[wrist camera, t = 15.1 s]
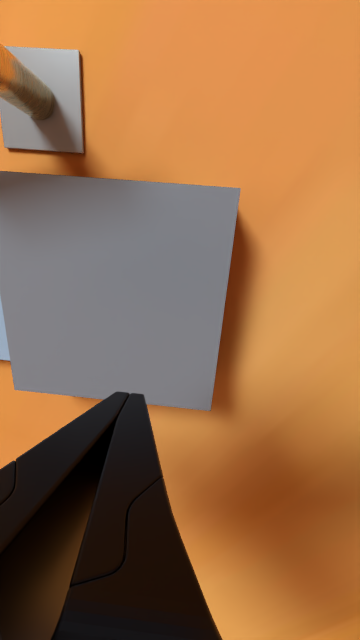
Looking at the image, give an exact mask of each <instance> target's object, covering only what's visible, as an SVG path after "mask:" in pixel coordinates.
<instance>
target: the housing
mask: <svg viewBox="0 0 360 640" xmlns="http://www.w3.org/2000/svg"><path fill="white" fill-rule="evenodd" d="M4 47H5V48H6V49H7V50H9V51H10V52H11V53H12V54H13V55H14V56H15V57H16V58H17V59H19V60H20V61H21V62H22V63H23V64H24V65H25V66H26V67H27V68H29V69H30V70H31V71H32V72H33V73H34V74H35V75H36V76H37V77H38V78H40V79H41V80H42V81H43V82H44V83H45V84H46V85H47V86H48V87H49V88H50V90H51V91H52V93H53V96H54V103H55V104H54V110H53V113H52V114H51V116H50V117H49V118H47V119H45V120H36V119H34V118H32V117H30V116H29V115H27V114H26V113H24V112H22V111H21V110H19V109H18V108H16V107H15V106H13V105H11V104H10V103H8V102H7V101H5V100H3V99H2V98H0V114H1V123H2V131H3V139H4V147H5V148H11V149H26V150H40V151H55V152H70V153H84V142H83V116H82V90H81V64H80V52H79V50H67V49H47V48H28V47H9V46H4ZM239 196H240V188H229V187H216V186H202V185H188V184H174V183H160V182H146V181H133V180H119V179H105V178H91V177H77V176H64V175H50V174H36V173H22V172H8V171H0V296H1V302H2V309H3V316H4V322H5V329H6V336H7V342H8V349H9V355H10V362H11V369H12V375H13V382H14V389H15V390H21V391H31V392H40V393H49V394H58V395H68V396H77V397H86V398H95V399H106V398H107V397H109V396H110V395H112V394H113V393H115V392H117V391H119V392H128V393H130V394H131V393H138V394H144V396H145V400H146V404H151V405H160V406H169V407H178V408H187V409H197V410H206V411H211V404H212V396H213V389H214V382H215V374H216V367H217V359H218V352H219V344H220V337H221V330H222V322H223V315H224V307H225V300H226V292H227V285H228V277H229V270H230V263H231V255H232V248H233V240H234V233H235V225H236V218H237V210H238V203H239Z"/></svg>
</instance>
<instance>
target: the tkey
mask: <svg viewBox="0 0 360 640" xmlns="http://www.w3.org/2000/svg"><path fill="white" fill-rule="evenodd" d="M0 98H2V99H3V100H5V101H7V102H8V103H10V104H11V105H13V106H15V107H16V108H18V109H19V110H21V111H22V112H24V113H26V114H27V115H29V116H30V117H32V118H34V119H36V120H45V119H47V118H49V117H50V116H51V114H52V113H53V110H54V104H55V103H54V96H53V93H52V91H51V90H50V88H49V87H48V86H47V85H46V84H45V83H44V82H43V81H42V80H41V79H40V78H38V77H37V76H36V75H35V74H34V73H33V72H32V71H31V70H30V69H29V68H27V67H26V66H25V65H24V64H23V63H22V62H21V61H20V60H19V59H17V58H16V57H15V56H14V55H13V54H12V53H11V52H10V51H9V50H7V49H6V48H5V47H4V46H3V45H2V44H1V43H0Z"/></svg>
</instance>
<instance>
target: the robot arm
mask: <svg viewBox="0 0 360 640" xmlns="http://www.w3.org/2000/svg"><path fill="white" fill-rule="evenodd" d="M0 640H222V638H221V636H220V634H219V631H218V629H217V627H216V625H215V622H214V620H213V618H212V615H211V613H210V611H209V608H208V606H207V603H206V601H205V598H204V596H203V593H202V590H201V588H200V585H199V583H198V580H197V577H196V575H195V572H194V570H193V567H192V565H191V562H190V559H189V557H188V554H187V552H186V549H185V546H184V544H183V541H182V539H181V536H180V533H179V530H178V527H177V524H176V522H175V519H174V516H173V513H172V509H171V506H170V502H169V498H168V495H167V491H166V486H165V482H164V479H163V474H162V470H161V466H160V461H159V457H158V452H157V448H156V444H155V439H154V435H153V431H152V426H151V422H150V418H149V413H148V409H147V405H146V400H145V396H144V394H138V393H131V394H130V393H128V392H119V391H117V392H115V393H113V394H112V395H110V396H109V397H107V398H106V399H104V400H103V401H101V402H100V403H98V404H97V405H95V406H94V407H92V408H91V409H89V410H88V411H86V412H85V413H83V414H82V415H80V416H79V417H77V418H76V419H75V420H73V421H72V422H70V423H69V424H67V425H66V426H64V427H63V428H61V429H60V430H58V431H57V432H55V433H54V434H52V435H51V436H49V437H48V438H46V439H45V440H43V441H42V442H40V443H39V444H37V445H36V446H34V447H33V448H31V449H30V450H28V451H27V452H25V453H24V454H22V455H21V456H20V457H18V458H17V459H16V462H15V461H12V462H10V463H9V464H7V465H6V466H4V467H3V468H1V469H0Z"/></svg>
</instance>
